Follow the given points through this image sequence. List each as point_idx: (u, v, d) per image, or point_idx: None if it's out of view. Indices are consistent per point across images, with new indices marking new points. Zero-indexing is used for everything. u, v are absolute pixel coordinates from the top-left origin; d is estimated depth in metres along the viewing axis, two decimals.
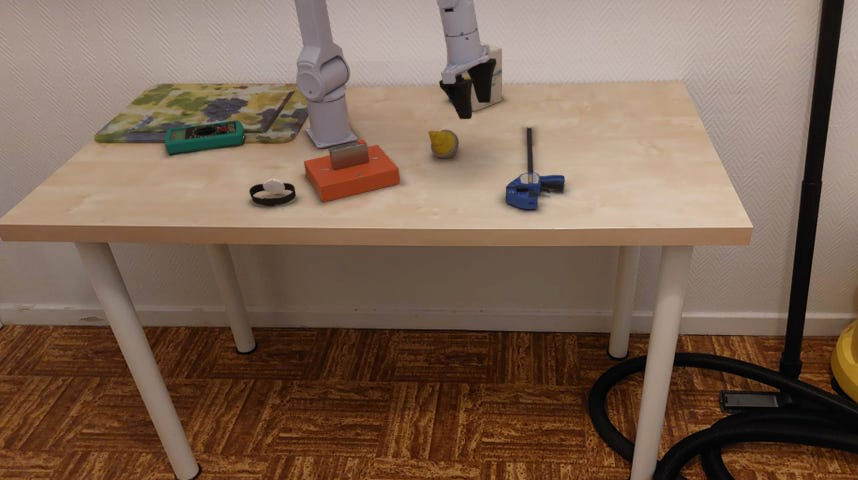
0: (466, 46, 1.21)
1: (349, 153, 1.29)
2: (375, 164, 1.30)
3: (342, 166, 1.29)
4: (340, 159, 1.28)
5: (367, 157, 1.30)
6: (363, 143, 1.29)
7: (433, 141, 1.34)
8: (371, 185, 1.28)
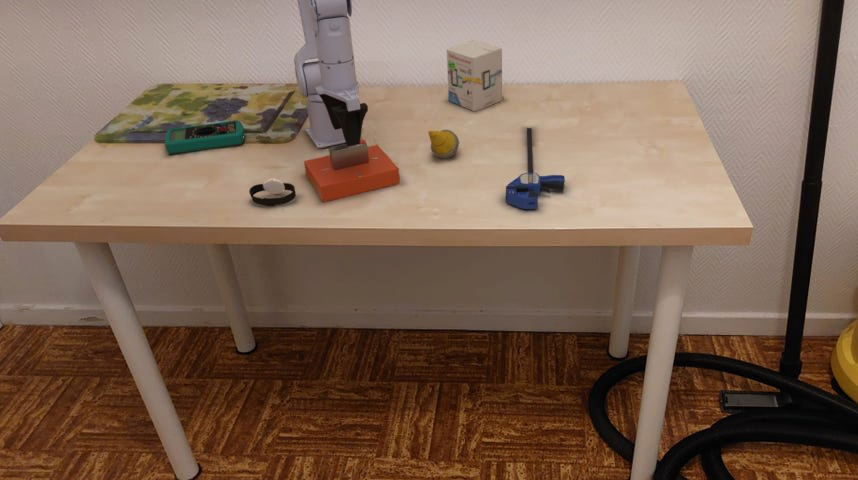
0: None
1: (349, 153, 1.29)
2: (375, 164, 1.30)
3: (342, 166, 1.29)
4: (340, 159, 1.28)
5: (367, 157, 1.30)
6: (363, 143, 1.29)
7: (433, 141, 1.34)
8: (371, 185, 1.28)
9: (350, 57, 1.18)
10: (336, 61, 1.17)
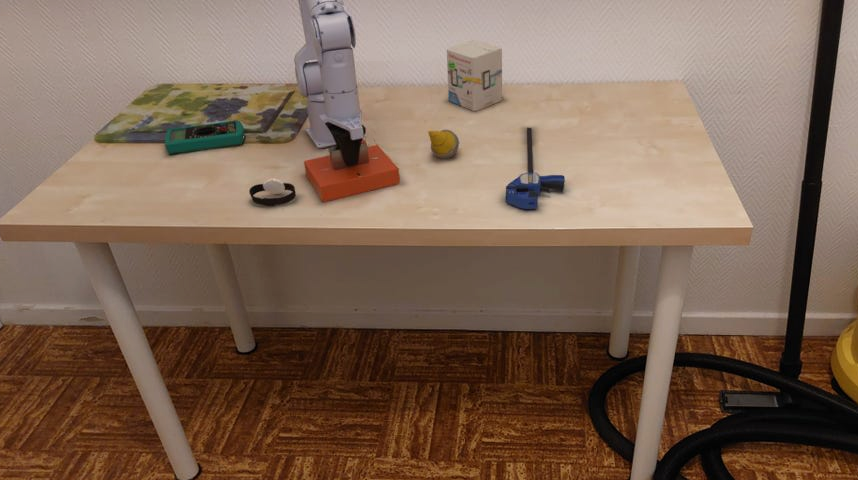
0: None
1: None
2: (375, 164, 1.30)
3: (342, 166, 1.29)
4: (340, 159, 1.28)
5: (367, 157, 1.30)
6: (363, 143, 1.29)
7: (433, 141, 1.34)
8: (371, 185, 1.28)
9: (354, 87, 1.21)
10: (340, 91, 1.20)
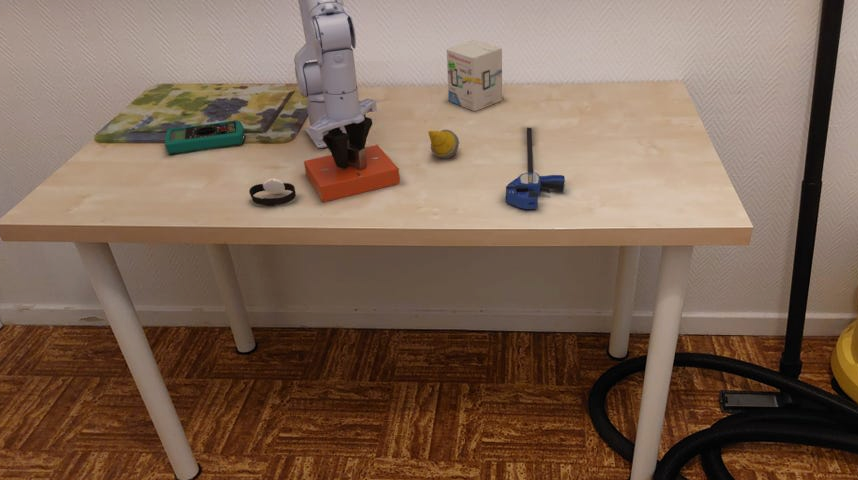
0: (340, 105, 1.21)
1: None
2: (375, 164, 1.30)
3: None
4: None
5: None
6: None
7: (433, 141, 1.34)
8: (371, 185, 1.28)
9: (354, 87, 1.21)
10: (340, 92, 1.20)
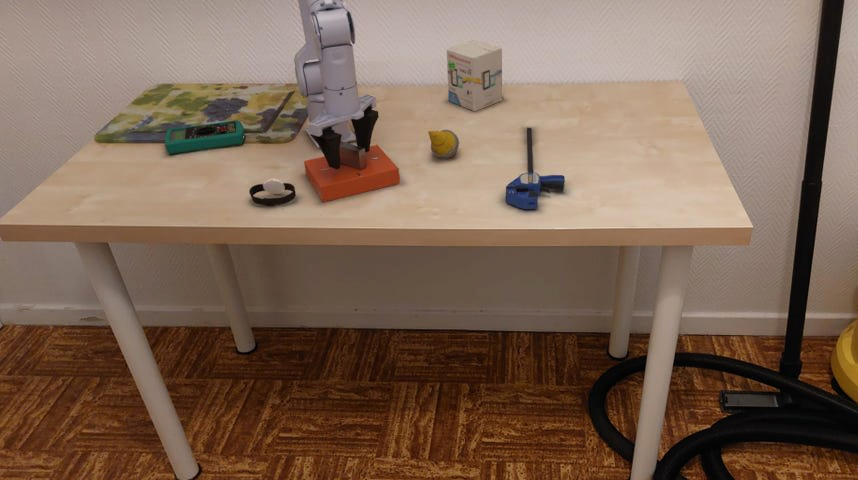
0: (339, 101, 1.21)
1: None
2: (375, 164, 1.30)
3: None
4: None
5: None
6: None
7: (433, 141, 1.34)
8: (371, 185, 1.28)
9: (353, 83, 1.21)
10: (340, 87, 1.20)
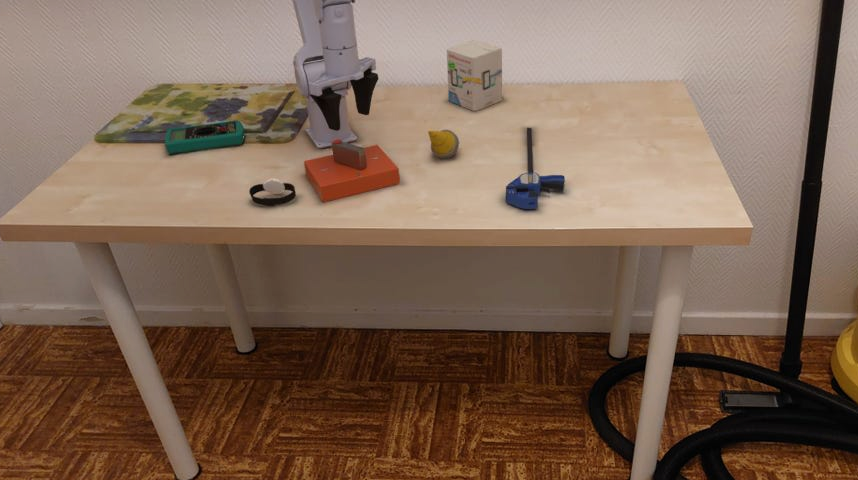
0: (339, 61, 1.21)
1: None
2: (375, 164, 1.30)
3: None
4: None
5: None
6: (339, 140, 1.30)
7: (433, 141, 1.34)
8: (371, 185, 1.28)
9: (354, 43, 1.21)
10: (341, 47, 1.20)
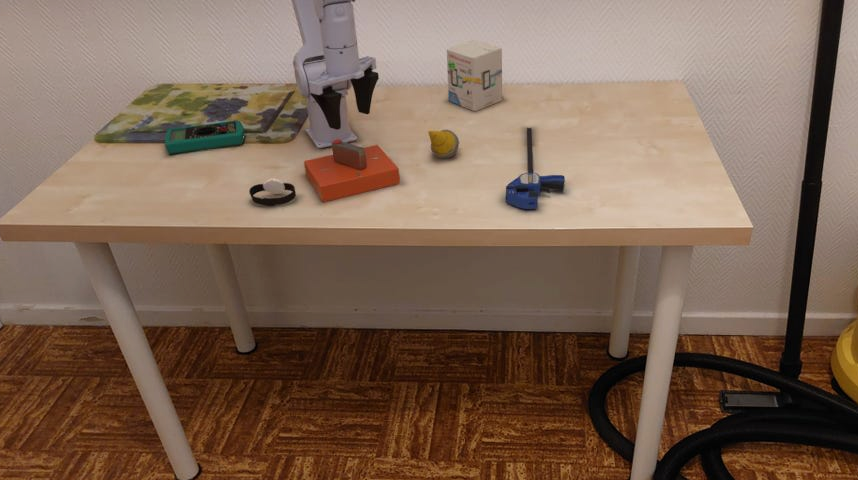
0: (340, 60, 1.22)
1: None
2: (375, 164, 1.30)
3: None
4: None
5: None
6: (339, 140, 1.30)
7: (433, 141, 1.34)
8: (371, 185, 1.28)
9: (354, 42, 1.22)
10: (342, 46, 1.20)
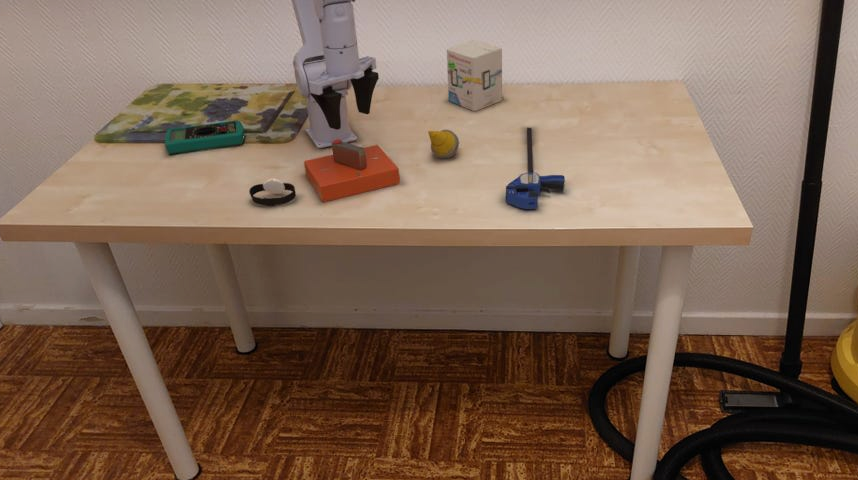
0: (340, 60, 1.22)
1: None
2: (375, 164, 1.30)
3: None
4: None
5: None
6: (339, 140, 1.30)
7: (433, 141, 1.34)
8: (371, 185, 1.28)
9: (354, 42, 1.22)
10: (342, 46, 1.20)
